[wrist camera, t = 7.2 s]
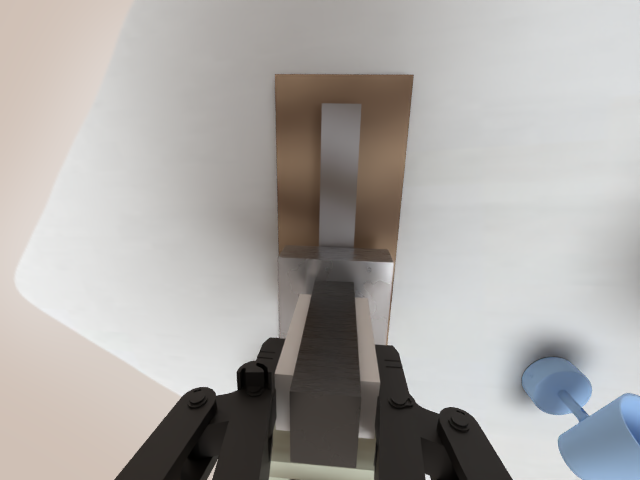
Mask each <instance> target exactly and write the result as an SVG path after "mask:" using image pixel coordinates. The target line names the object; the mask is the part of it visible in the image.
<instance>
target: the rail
mask: <svg viewBox="0 0 640 480" xmlns="http://www.w3.org/2000/svg"><path fill="white" fill-rule="evenodd" d="M413 76H414V75H337V74H275V103H276V149H277V196H278V242H279V255H280V253H281V252H282V250H283V248H284V247H285V245H296V246H320V247H343V248H366V249H388V250H389V253H390V255H391V257H392V260H393V262H394V266H393V276H392V286H391V297H390V307H389V317H388V328H387V338H386V345H387V342H388V332H389V321H390V311H391V301H392V291H393V281H394V270H395V260H396V250H397V240H398V229H399V219H400V209H401V199H402V188H403V178H404V168H405V158H406V148H407V137H408V127H409V117H410V107H411V96H412V86H413ZM375 446H376V434H375V438H374V439H368V438H358V450H357V464H356V468H346V467H336V466H325V465H314V464H304V463H293V462H290V431H283V430H276V422H275V426H274V430H273V448H272V456H271V465H270V474H269V480H374V466H373V465H374V455H375Z"/></svg>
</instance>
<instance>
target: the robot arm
mask: <svg viewBox="0 0 640 480" xmlns="http://www.w3.org/2000/svg"><path fill="white" fill-rule="evenodd" d="M310 300H311V295H309V294H300V295H299V298H298V301H297V304H296V308H295V311H294V314H293V317H292V320H291V323H290V327H289V330H288V333H287V336H286V339H283V338H269V339H268V340H267V341H265V342H264V343H263V345H262V347H261V350H260V352H259V354H258V357H257V359H256V361H250V362H248V363H245V364H243V365H242V366H241V367H240V368H239V369H238V371H237V386H238V390H237V391H235V392H232V393H229V394H224V395H218V396H216V393H215V392H214V391H213V389H210V388H208V387H199V388H195V389H192V390H191V391H189V392H187V393H186V394H185V395H183V396H182V397H181V399H180V400H179V401H178V402H177V403H176V405H175V406H174V407H173V409H172V410H171V411H170V412H169V413H168V415H167V416H166V417H165V418H164V419H163V421H162V422H161V423H160V424H159V426H158V427H157V428H156V429H155V431H154V432H153V433H152V434H151V435H150V437H149V438H148V439H147V440H146V442H145V443H144V444H143V445H142V446H141V448H140V449H139V450H138V451H137V453H136V454H135V455H134V456H133V458H132V459H131V460H130V461H129V462H128V464H127V465H126V466H125V468H123V470H122V471H121V472H120V473H119V475H118V476H117V477H116V478H115V480H207V478H208V477H209V475H210V473H211V471H212V469H213V467H214V465H215V463H216V462H217V465H216V468H215V472H214V475H213V479H212V480H269V474H270V465H271V456H272V448H273V430H274V426H275V422H276V430H283V431H290V393H289V391H290V387H291V383H292V378H293V374H294V370H295V365H296V361H297V356H298V352H299V348H300V343H301V339H302V335H303V330H304V326H305V322H306V317H307V313H308V309H309V304H310ZM355 308H356V323H357V338H358V353H359V369H360V384H361V409H360V423H359V436H358V438H368V439H374V438H375V434H376V446H375V455H374V465H373V466H374V480H425V474H427V475H430V478H431V480H513V479H512V478H511V476H510V475H509V473H508V471H507V470H506V468H505V466H504V465H503V463H502V461H501V460H500V458H499V457H498V455H497V453H496V452H495V450H494V448H493V447H492V445H491V444H490V442H489V440H488V439H487V437H486V435H485V434H484V432H483V431H482V429H481V427H480V426H479V424H478V422H477V421H476V420H475V419H474V418H473V416H471V415H470V414H469V413H467V412H466V411H464V410H461V409H459V408H453V407H448V408H444V409H443V410H442V411H440V414H438V413H435V412H432V411H429V410H427V409H424V408H422V407H421V406H419V405H418V404H417V403H416V402H415V400H414V398H413V397H412V396H411V395H410V394H409V391H408V387H407V383H406V379H405V375H404V372H403V369H402V364H401V360H400V356H399V353H398V352H397V350H396V349H395V348H394V347H393V346H390V345H377V344H374V337H373V330H372V323H371V316H370V310H369V303H368V298H358V297H355ZM217 459H218V461H217Z"/></svg>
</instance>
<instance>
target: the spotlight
mask: <svg viewBox="0 0 640 480" xmlns="http://www.w3.org/2000/svg"><path fill="white" fill-rule="evenodd" d="M522 386H523V388H524V390H525V392H526V393H527V394H528V395H529V397H530V398H531V399H532V401H533V402H534V403H535V405H536V406H537V407H538V408H539V409H540V410H542V411H543V412H546V413H548V414H553V415H564V414H569V413H573V414H574V415H575V416H576V417H577V419H578V420H579V423H578V424H577V425H575V426H574V427H572V428H571V429H569V430H568V431H566V432H564V433H563V434H561V435H560V436H559V438H558V447H559V451H560V453H561V456H562V458H563V459H564V461H565V463H566V464H567V466H568V467H569V468H570V469H571V470H572V472H573V473H574V474H576V475H577V476H578V477H579V478H581V479H582V480H640V396H638V395H635V394H631V393H626V394H623V395H622V396H620V397H618V398H617V399H615V400H614V401H612V402H611V403H609V404H608V405H606V406H605V407H603V408H601V409H600V410H598V411H597V412H595V413H594V414H592V415H591V416H589V415H588V414H587V413H586V412H585V411H584V410H583V408H582V407H583V406H584V405H585V404H586V403H587V402H588V400H589V398H590V396H591V393H592V386H591V383H590V381H589V380H588V378H587V377H586V376H585V375H583V374H582V373H581V372H580V371H579V370H578V369H577V368H576V367H575V366H574V365H573V364H572V363H571V362H569V361H568V360H566V359H563V358H559V357H547V358H543V359H540V360H538V361H536V362H534V363H532V364H531V365H530V366H529V367H528V368H527V369H526V370H525V372H524V374H523V376H522Z"/></svg>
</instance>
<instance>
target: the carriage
mask: <svg viewBox="0 0 640 480" xmlns="http://www.w3.org/2000/svg"><path fill="white" fill-rule="evenodd" d="M393 266H394V262H393V260H392V257H391V255H390V253H389V250H388V249H366V248H343V247H320V246H296V245H285V247H284V248H283V250H282V252H281V253H280V255H279V256H278V283H279V327H280V338H283V339H286V336H287V333H288V330H289V327H290V323H291V320H292V317H293V314H294V311H295V308H296V304H297V301H298V298H299V295H300V294H309V295H311V300H310V304H309V309H308V313H307V317H306V322H305V326H304V330H303V335H302V339H301V343H300V348H299V352H298V356H297V361H296V365H295V370H294V374H293V378H292V383H291V387H290V391H289V393H290V462H293V463H304V464H314V465H325V466H336V467H346V468H356V464H357V450H358V436H359V423H360V409H361V384H360V369H359V353H358V338H357V323H356V308H355V297H358V298H368V303H369V310H370V316H371V323H372V330H373V337H374V344H377V345H386V338H387V328H388V317H389V307H390V297H391V286H392V276H393Z"/></svg>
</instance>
